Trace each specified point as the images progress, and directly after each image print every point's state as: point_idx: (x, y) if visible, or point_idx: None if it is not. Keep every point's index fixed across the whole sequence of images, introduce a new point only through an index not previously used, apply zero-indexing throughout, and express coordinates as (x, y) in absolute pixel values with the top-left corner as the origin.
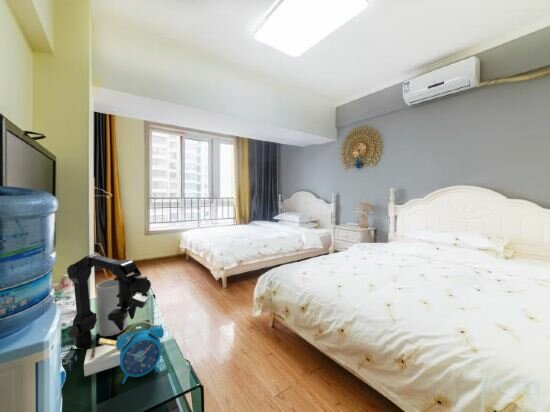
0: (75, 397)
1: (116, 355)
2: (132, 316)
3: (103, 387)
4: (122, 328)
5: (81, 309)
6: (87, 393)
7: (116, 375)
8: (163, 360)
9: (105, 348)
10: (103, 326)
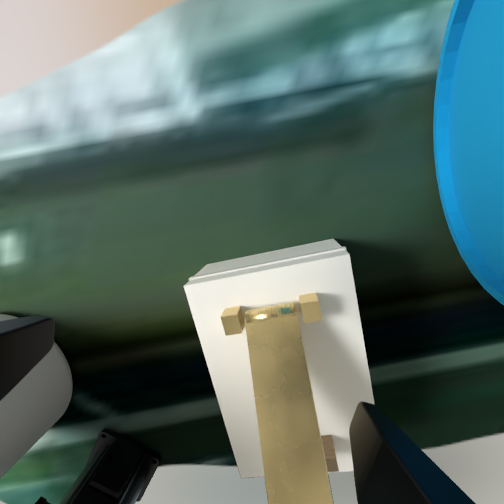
0: (499, 410)
1: (359, 321)
2: (16, 348)
3: (493, 318)
4: (410, 447)
5: None
6: (499, 373)
7: (425, 279)
8: (408, 18)
9: None
10: (21, 448)
